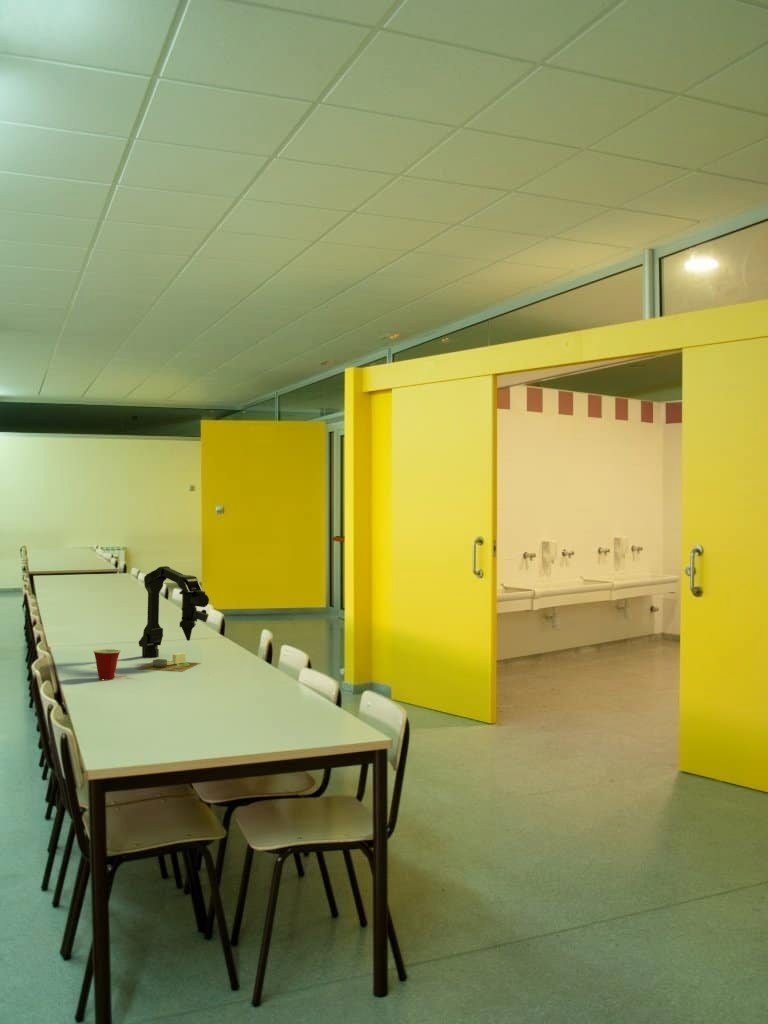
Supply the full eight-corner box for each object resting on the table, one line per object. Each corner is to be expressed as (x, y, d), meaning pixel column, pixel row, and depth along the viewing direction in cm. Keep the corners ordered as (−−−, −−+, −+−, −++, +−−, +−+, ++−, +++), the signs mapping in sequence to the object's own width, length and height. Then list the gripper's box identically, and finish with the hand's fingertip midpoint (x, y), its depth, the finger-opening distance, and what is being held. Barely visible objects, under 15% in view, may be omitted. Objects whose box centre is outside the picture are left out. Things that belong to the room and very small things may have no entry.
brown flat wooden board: (133, 672, 367) (133, 669, 366) (156, 663, 387) (156, 660, 387) (181, 674, 362) (181, 671, 362) (202, 665, 382) (202, 662, 382)
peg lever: (157, 667, 368) (157, 658, 368) (150, 665, 373) (150, 656, 373) (187, 663, 379) (187, 653, 379) (180, 661, 383) (180, 652, 383)
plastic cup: (126, 677, 355) (126, 648, 355) (107, 682, 345) (107, 652, 345) (106, 675, 360) (106, 646, 360) (87, 680, 350) (87, 650, 350)
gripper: (206, 607, 369) (205, 644, 370) (208, 602, 388) (208, 636, 388) (179, 607, 368) (179, 644, 368) (183, 602, 386) (183, 637, 387)
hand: (188, 640), depth 378 cm, fingers closed
